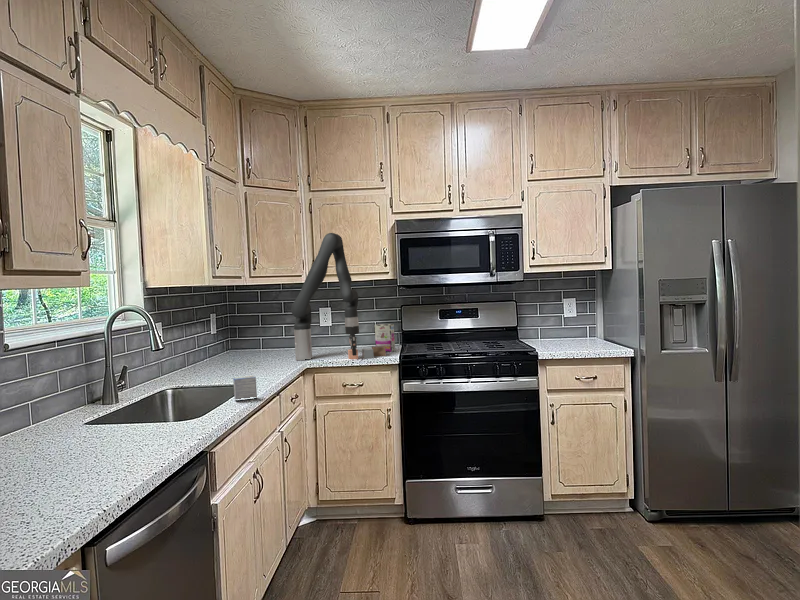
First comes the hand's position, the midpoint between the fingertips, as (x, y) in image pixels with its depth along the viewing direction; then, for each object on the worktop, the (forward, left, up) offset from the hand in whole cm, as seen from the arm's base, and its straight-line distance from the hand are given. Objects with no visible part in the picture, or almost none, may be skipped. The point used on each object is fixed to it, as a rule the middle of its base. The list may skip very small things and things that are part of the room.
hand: (353, 354), depth 304 cm
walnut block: (+15, +5, -3) cm, 16 cm away
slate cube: (+8, -2, -2) cm, 8 cm away
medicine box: (-48, -89, -3) cm, 102 cm away
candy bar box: (+21, +21, -3) cm, 30 cm away
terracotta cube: (0, 0, -2) cm, 2 cm away
